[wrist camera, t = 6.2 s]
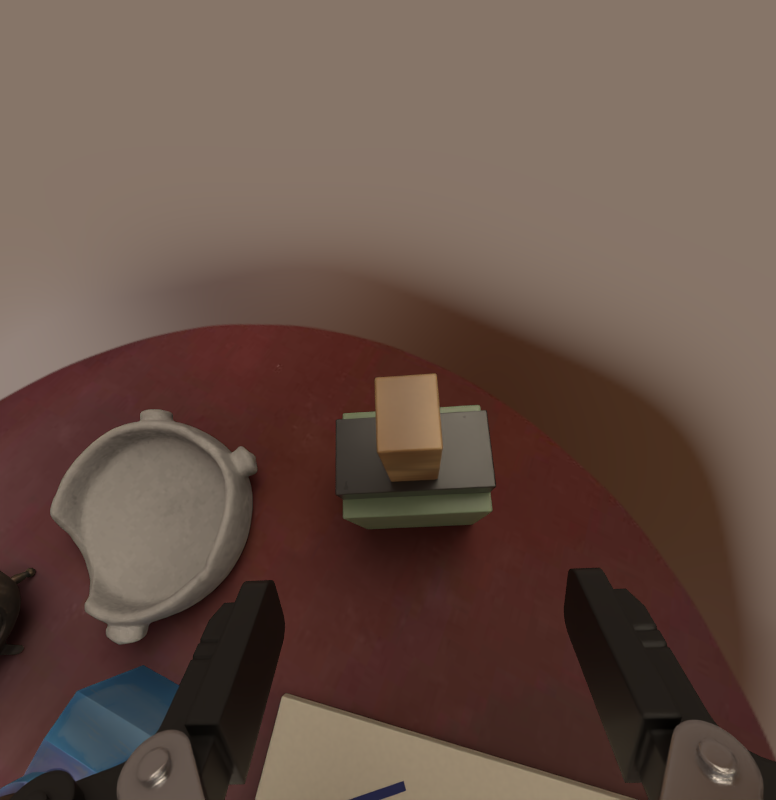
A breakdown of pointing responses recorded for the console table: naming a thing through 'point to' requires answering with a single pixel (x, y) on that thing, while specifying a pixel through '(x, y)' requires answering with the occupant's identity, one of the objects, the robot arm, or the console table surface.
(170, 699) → the perfume bottle
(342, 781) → the board
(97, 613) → the dish
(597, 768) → the console table surface
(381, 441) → the eraser
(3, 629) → the alarm clock
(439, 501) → the block
